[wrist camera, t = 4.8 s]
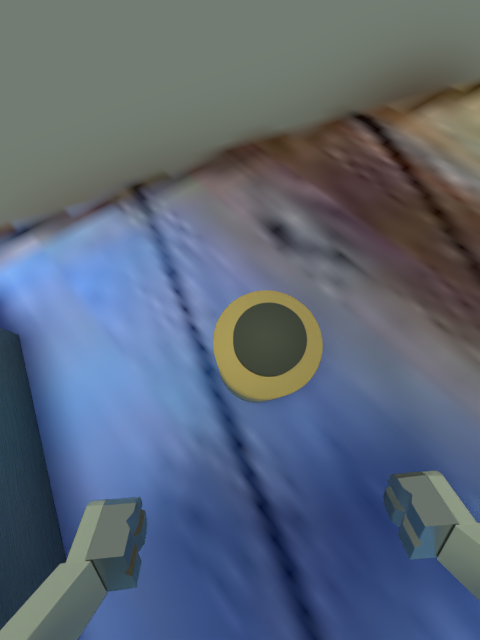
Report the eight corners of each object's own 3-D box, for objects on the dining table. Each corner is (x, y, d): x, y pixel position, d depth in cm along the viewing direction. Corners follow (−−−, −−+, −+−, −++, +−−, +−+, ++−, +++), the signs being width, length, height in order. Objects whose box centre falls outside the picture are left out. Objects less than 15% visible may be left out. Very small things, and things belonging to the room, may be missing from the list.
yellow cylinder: (274, 416, 20) (300, 419, 12) (206, 381, 20) (190, 363, 13) (303, 348, 21) (344, 313, 14) (239, 317, 22) (243, 266, 14)
